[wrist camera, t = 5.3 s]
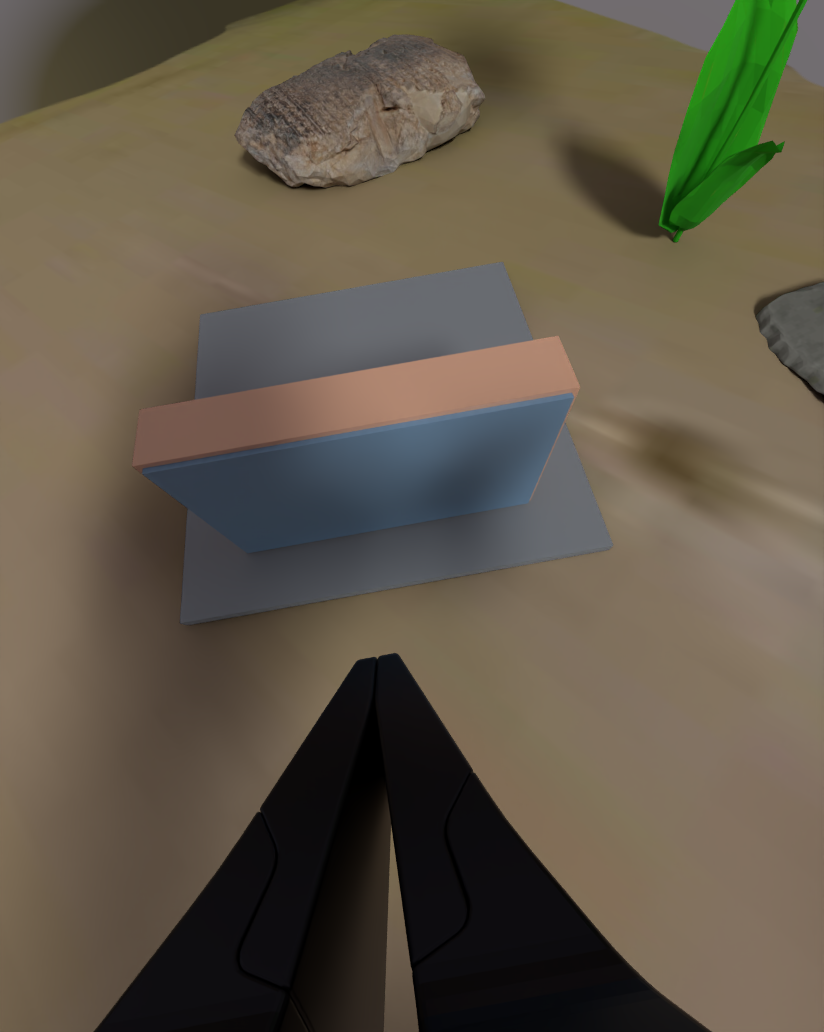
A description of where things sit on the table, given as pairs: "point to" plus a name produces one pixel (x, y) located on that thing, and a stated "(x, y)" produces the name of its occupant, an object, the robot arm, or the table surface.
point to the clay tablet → (362, 113)
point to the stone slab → (797, 332)
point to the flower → (729, 111)
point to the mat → (360, 346)
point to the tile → (363, 445)
